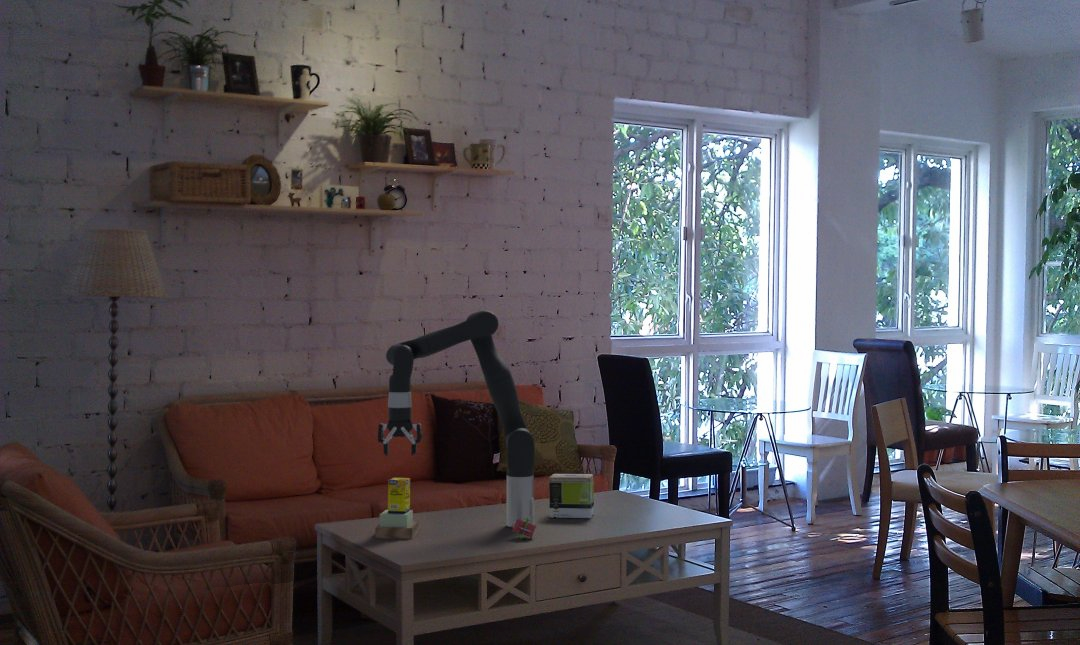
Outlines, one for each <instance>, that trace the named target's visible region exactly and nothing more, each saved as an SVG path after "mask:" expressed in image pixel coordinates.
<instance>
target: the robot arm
mask: <svg viewBox="0 0 1080 645" xmlns="http://www.w3.org/2000/svg"><path fill="white" fill-rule="evenodd" d="M498 328H499V319H498V317H497V316H496V314H495V313H493V312H492V311H490V310H479V311H476V312H472V313H471V314H469V316H468V317H467V318H466V320H464V321H462V322H459V323H457V324H454V325H452V326H448V327H445V328H441V329H438V330H435V331H432V332H429V333H426V334H423V335H421V336H418V337H416V338H414V339H410V340H406V341H402V342H398V343H396V344H394V345H392V346H390V347H389V348H388V349H387V351H386V353H385V359H386V361H387V362H388V364H390V365H392V366H393V367H392V374H391V375H390V376H389V379H388V384H389V386H388V401H387V411H388V413H387V414H388V415H387V416H388V422H387V423H379V424H378V427H377V428H378V430H377V442H378V443H381V444H382V445H383V454H384V455H385V456H387V457H388V456H389V455H390V444H389V442H390V440H391V439H392V438H393V437H394V438H405V437H406V438H407V439H408V440H409V442H411V454H410V456H413V457H414V456H415V454H417V447H418V446H417V445H418V444H419V443H421V442H422V441H423V433H422V432H423V430H422V424H421V423H420V422H418V423H413V421H412V418H413V415H412V412H413V411H412V408H413V407H412V392H411V391H412V388H411V384H412V383H411V382H412V381H411V378H412V373H413V369H414V361H415V360H416V359H417V360H418V359H424V358H427V357H429V356H432V355H435V354H437V353H440V352H442V351H445V350H447V349H450V348H452V347H454V346H456V345H459V344H461V343H464V342H467V341H471V343H472V344H471V345H472V346H473V348H474V351H475V353H476V355H477V359H478V362H479V365H480V368H481V371H482V373H483V376H484V377H483V378H484V380H485V383H486V384H485V385H486V387H487V390H488V393H489V395H490V398H491V400H492V403H493V405H494V407H495V409H496V412H497V414H498V416H499V418H500V421H501V425H502V429H503V433H504V438H505V444H506V448H507V450H506V451H507V452H506V453H507V457H506V458H507V460H506V462H507V463H506V527H509V528H512V529H513V528H514V527H513V523H514V521H516V519H519V520H522V521H524V522H526V520H524V519H527V518H528V519H529V521H530V524H533V525H534V524H535V494H534V493H535V492H534V489H535V488H534V486H535V485H534V484H535V483H534V481H535V480H534V476H535V475H534V470H535V459H536V458H535V456H536V454H535V453H536V452H535V451H536V450H535V449H536V448H535V446H536V445H535V444H536V442H535V438H534V435H533V434H532V433H531V432H530V430H529V429H528V427H527V424H526V422H525V420H524V418H523V415H522V411H521V409H520V408H521V407H520V403H519V402H520V401H519V395H518V391H517V388H516V383H515V380H514V378H513V375H512V372H511V369H510V368H509V366H508V364H507V363H506V362H505V360H504V358H503V357H502V356H501V354H500V353H499V352H498V350H497V347H496V346H495V342H494V339H493V335H494V334H496V332H497V330H498ZM386 428H387V430H388V431H389V433H388V434H387V436H386V437H385V438H384V431H385V430H386ZM412 429H414V431H416V438H415V436H414V435H413V434H412V432H411V431H412ZM529 521H528V523H529ZM531 521H532V522H533V523H532V522H531Z"/></svg>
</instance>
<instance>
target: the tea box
mask: <svg viewBox="0 0 1080 645" xmlns="http://www.w3.org/2000/svg"><path fill="white" fill-rule="evenodd" d="M548 485H549V486H548V489H549V490H548V491H549V494H548V495H549V497H548V498H549V503H548V504H549V506H548V508H549V518H554V517H556V519H557V518H558V519H559V518H560V519H561V518H565V519H569V518H570V519H591V518H592V517H593V516H594V514H595V491H594V490H595V487H594V474H593V473H553V474H551V475H550V476H549V477H548ZM592 515H593V516H592Z"/></svg>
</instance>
